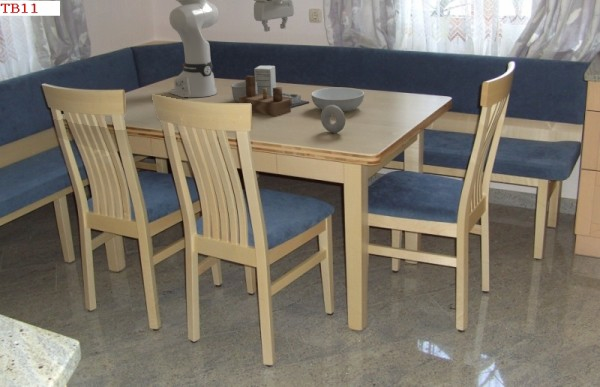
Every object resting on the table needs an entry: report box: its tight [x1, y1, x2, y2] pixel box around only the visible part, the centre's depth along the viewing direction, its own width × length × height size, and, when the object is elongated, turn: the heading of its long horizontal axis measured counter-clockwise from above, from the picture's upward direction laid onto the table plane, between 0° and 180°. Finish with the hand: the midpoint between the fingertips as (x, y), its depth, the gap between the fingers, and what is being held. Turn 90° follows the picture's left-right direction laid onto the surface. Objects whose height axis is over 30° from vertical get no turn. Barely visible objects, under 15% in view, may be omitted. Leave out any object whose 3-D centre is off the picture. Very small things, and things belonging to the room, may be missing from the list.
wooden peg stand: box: [238, 74, 292, 117], centre depth 294 cm, size 20×9×13 cm, turn 48°
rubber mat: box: [291, 99, 310, 109], centre depth 306 cm, size 12×12×1 cm
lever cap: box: [282, 92, 302, 105], centre depth 305 cm, size 9×5×4 cm, turn 48°
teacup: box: [230, 80, 258, 104], centre depth 311 cm, size 14×11×8 cm
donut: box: [320, 105, 346, 134], centre depth 261 cm, size 10×4×10 cm, turn 51°
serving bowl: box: [310, 86, 365, 113], centre depth 293 cm, size 21×21×7 cm
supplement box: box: [253, 65, 277, 96], centre depth 318 cm, size 7×7×13 cm
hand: (275, 29), depth 303 cm, fingers open, 8 cm apart
